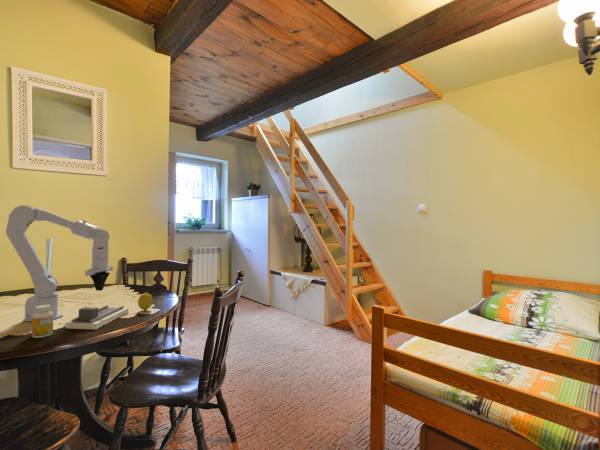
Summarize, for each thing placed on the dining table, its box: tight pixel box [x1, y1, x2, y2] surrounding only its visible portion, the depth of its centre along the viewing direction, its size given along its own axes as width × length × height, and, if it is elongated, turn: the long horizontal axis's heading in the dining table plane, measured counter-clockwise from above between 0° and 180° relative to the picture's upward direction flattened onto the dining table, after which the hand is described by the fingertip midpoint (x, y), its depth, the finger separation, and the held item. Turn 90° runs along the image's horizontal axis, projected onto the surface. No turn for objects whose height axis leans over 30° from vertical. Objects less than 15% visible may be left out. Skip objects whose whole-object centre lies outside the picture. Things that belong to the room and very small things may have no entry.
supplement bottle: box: [31, 305, 54, 339], centre depth 102 cm, size 5×5×10 cm
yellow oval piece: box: [137, 292, 153, 312], centre depth 133 cm, size 6×6×8 cm
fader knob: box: [78, 306, 99, 321], centre depth 112 cm, size 5×3×4 cm, turn 89°
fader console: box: [65, 305, 129, 330], centre depth 119 cm, size 11×20×3 cm, turn 179°
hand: (99, 290), depth 128 cm, fingers closed
